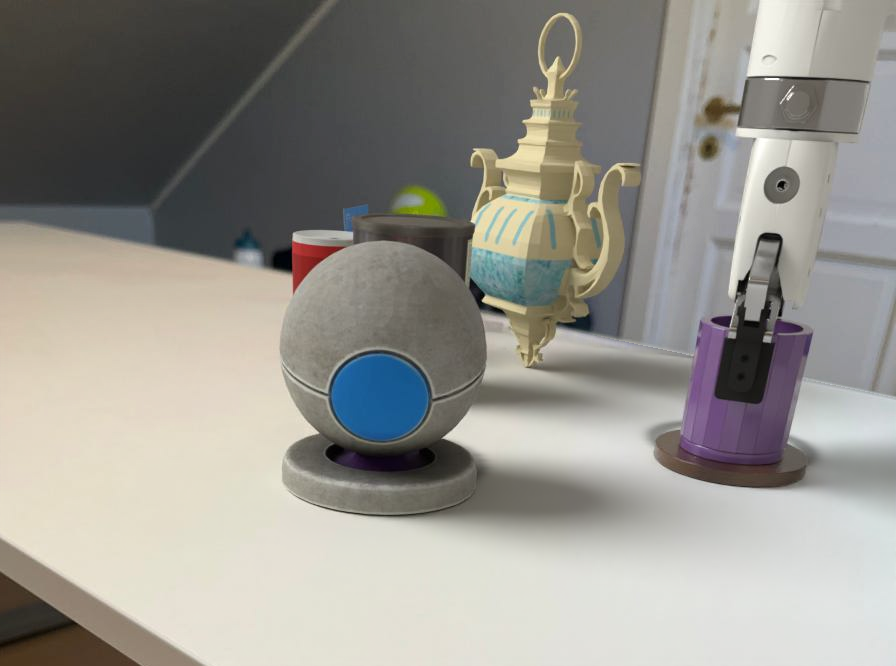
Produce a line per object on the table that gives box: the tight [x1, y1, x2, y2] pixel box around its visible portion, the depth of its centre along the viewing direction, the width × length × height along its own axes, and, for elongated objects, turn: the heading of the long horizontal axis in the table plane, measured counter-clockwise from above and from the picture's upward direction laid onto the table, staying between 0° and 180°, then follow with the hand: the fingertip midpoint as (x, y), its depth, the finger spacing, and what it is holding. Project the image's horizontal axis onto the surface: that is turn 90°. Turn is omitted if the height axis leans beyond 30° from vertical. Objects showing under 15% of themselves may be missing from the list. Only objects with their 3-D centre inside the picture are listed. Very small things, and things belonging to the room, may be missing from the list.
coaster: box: [653, 428, 809, 488], centre depth 72 cm, size 11×11×1 cm
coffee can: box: [351, 212, 475, 289], centre depth 84 cm, size 10×10×14 cm
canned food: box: [291, 229, 353, 296], centre depth 98 cm, size 8×8×11 cm
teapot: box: [469, 12, 642, 368], centre depth 90 cm, size 24×12×30 cm, turn 29°
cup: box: [679, 313, 815, 465], centre depth 70 cm, size 8×8×9 cm
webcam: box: [278, 241, 488, 516], centre depth 62 cm, size 13×13×15 cm
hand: (744, 385), depth 70 cm, fingers open, 9 cm apart
